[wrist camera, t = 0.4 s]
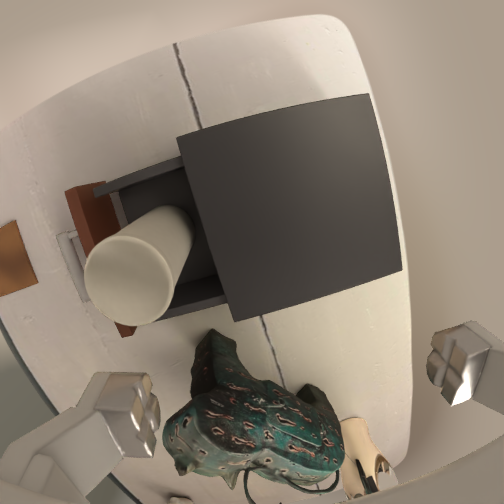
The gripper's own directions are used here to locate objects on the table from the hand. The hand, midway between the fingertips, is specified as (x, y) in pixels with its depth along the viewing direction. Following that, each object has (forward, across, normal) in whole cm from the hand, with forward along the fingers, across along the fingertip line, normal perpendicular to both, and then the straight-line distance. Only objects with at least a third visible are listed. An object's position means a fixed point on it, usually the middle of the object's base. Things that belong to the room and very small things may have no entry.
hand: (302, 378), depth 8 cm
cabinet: (+24, -4, -2) cm, 25 cm away
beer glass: (+24, -12, +33) cm, 43 cm away
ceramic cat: (+24, 0, +18) cm, 30 cm away
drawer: (+23, +9, 0) cm, 25 cm away
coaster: (+24, +30, +1) cm, 39 cm away
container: (+22, +8, 0) cm, 23 cm away
